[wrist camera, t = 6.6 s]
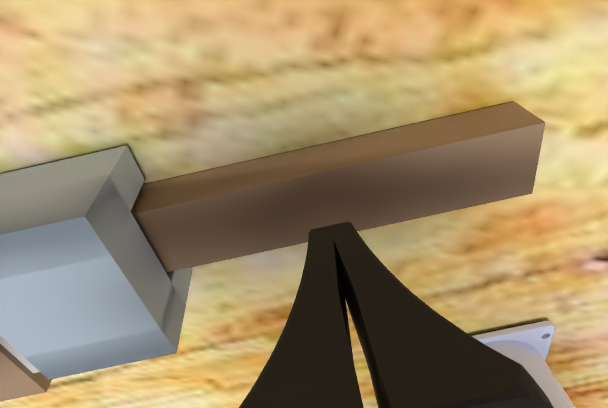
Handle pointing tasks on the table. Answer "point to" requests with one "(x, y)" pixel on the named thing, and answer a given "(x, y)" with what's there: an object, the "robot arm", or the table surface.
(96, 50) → the table surface
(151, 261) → the slider
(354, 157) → the brown piece
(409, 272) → the table surface
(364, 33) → the table surface
